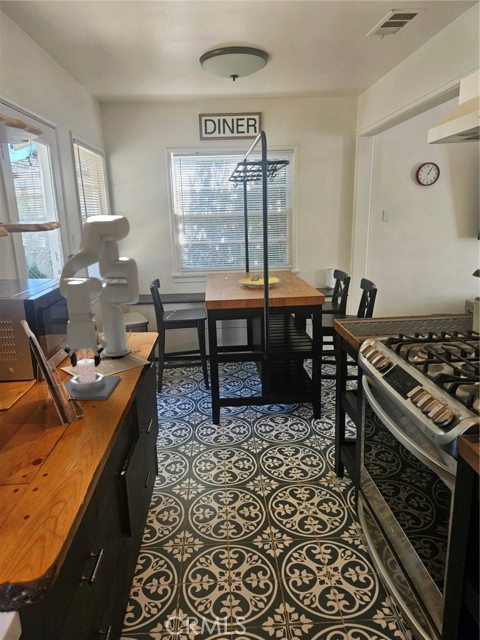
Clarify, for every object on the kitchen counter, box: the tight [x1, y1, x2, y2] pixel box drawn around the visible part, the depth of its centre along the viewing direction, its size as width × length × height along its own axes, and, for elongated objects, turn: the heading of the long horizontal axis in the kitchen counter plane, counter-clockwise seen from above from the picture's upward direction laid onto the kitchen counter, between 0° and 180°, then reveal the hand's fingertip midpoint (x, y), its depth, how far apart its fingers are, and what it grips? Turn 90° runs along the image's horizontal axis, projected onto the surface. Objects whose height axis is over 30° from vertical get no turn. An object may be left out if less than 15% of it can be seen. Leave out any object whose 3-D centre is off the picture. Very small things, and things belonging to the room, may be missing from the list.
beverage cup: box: [76, 350, 96, 382], centre depth 145 cm, size 6×6×14 cm
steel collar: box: [71, 371, 105, 392], centre depth 146 cm, size 10×10×3 cm
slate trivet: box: [63, 375, 121, 401], centre depth 146 cm, size 18×18×1 cm
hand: (86, 365), depth 144 cm, fingers open, 7 cm apart
